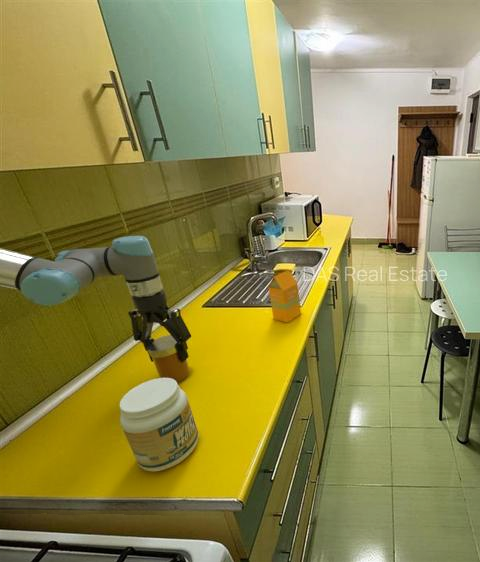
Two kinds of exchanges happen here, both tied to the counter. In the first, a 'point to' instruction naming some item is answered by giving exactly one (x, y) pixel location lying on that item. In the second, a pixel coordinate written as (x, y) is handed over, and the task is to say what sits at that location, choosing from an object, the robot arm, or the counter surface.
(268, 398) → the counter surface
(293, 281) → the orange juice
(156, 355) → the lid
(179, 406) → the supplement tub
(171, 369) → the jar
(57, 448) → the counter surface
